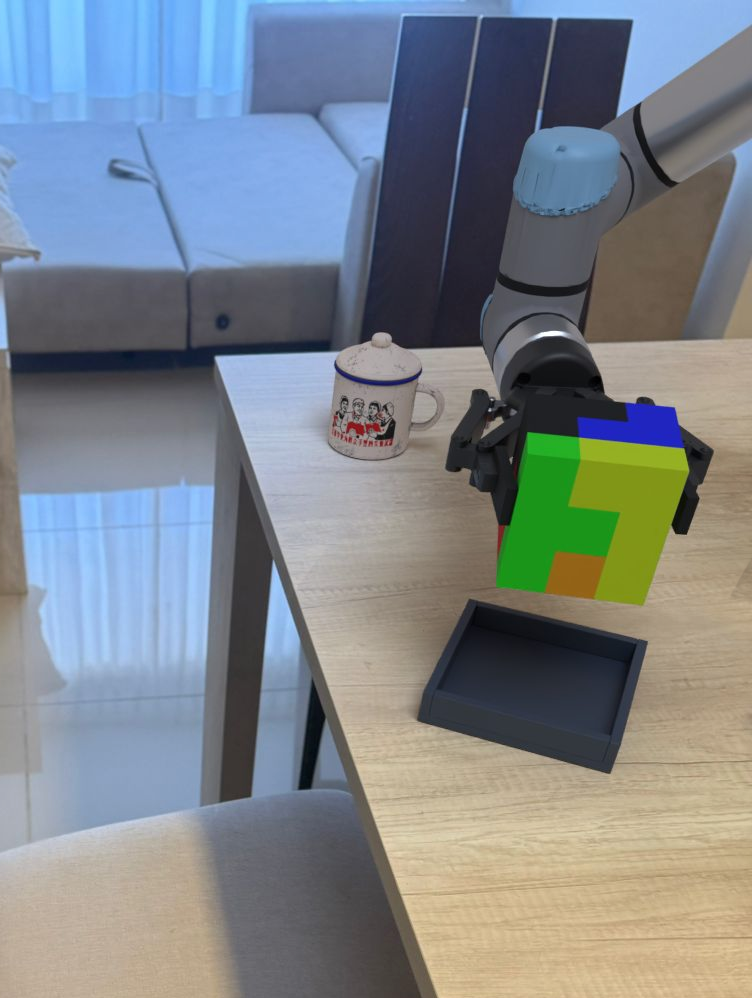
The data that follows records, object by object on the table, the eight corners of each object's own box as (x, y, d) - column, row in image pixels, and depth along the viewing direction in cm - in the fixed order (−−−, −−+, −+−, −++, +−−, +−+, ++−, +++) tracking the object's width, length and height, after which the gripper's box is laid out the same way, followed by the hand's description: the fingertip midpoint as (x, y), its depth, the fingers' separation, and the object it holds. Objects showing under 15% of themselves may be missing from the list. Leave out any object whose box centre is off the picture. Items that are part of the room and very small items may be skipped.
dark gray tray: (638, 669, 95) (648, 640, 93) (610, 774, 85) (620, 744, 83) (463, 625, 99) (469, 598, 97) (417, 720, 89) (422, 691, 88)
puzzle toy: (633, 535, 87) (674, 407, 80) (643, 605, 80) (689, 471, 73) (498, 519, 89) (527, 392, 82) (495, 587, 82) (527, 453, 75)
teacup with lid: (315, 453, 124) (327, 344, 116) (338, 419, 130) (350, 314, 122) (425, 473, 120) (445, 362, 112) (443, 438, 127) (464, 330, 119)
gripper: (680, 432, 95) (757, 570, 79) (393, 419, 97) (411, 551, 81) (710, 340, 90) (799, 468, 74) (407, 328, 92) (429, 450, 76)
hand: (597, 512), depth 77 cm, fingers closed on puzzle toy, 11 cm apart
